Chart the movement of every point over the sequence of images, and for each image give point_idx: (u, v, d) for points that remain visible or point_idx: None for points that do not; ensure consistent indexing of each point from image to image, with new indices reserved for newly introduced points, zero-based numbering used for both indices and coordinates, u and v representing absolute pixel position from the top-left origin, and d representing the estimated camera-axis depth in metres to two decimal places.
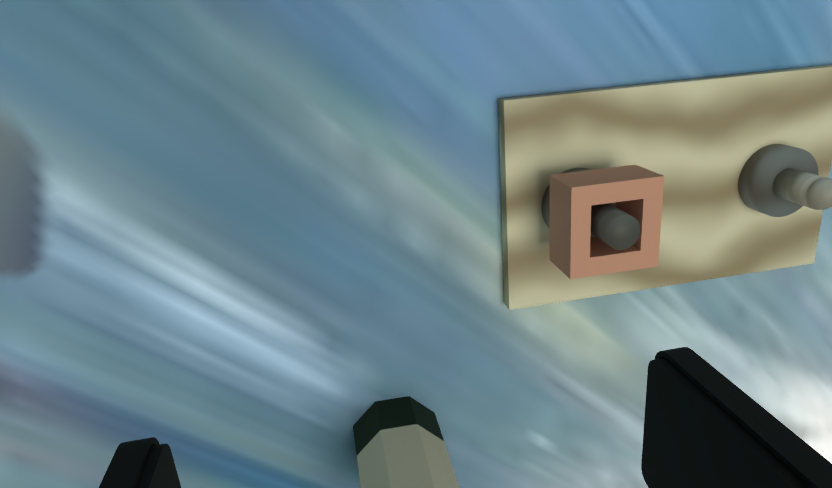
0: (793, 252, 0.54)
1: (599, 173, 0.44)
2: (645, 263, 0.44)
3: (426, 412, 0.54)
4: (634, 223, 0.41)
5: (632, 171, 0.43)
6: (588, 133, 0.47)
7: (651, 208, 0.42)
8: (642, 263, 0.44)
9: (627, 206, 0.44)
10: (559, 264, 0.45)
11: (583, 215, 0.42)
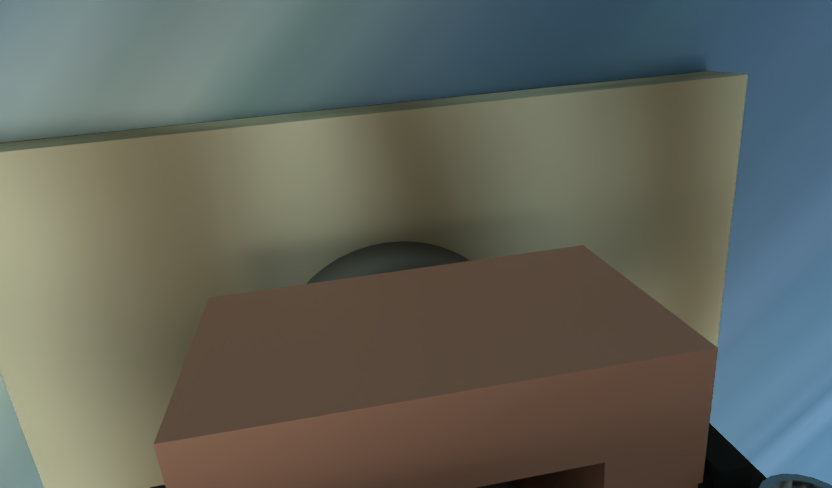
0: None
1: None
2: None
3: None
4: None
5: None
6: None
7: None
8: None
9: None
10: (218, 353, 0.08)
11: (558, 436, 0.08)
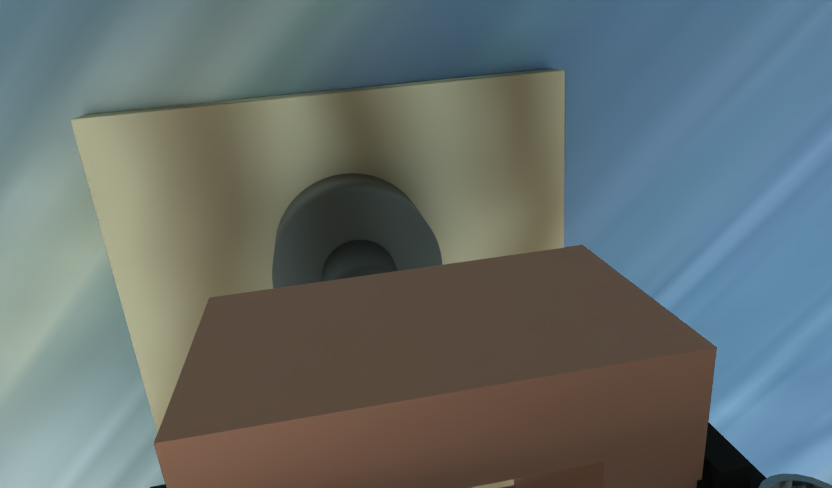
0: None
1: None
2: None
3: None
4: None
5: None
6: (490, 249, 0.25)
7: None
8: None
9: None
10: (218, 353, 0.08)
11: (557, 435, 0.08)
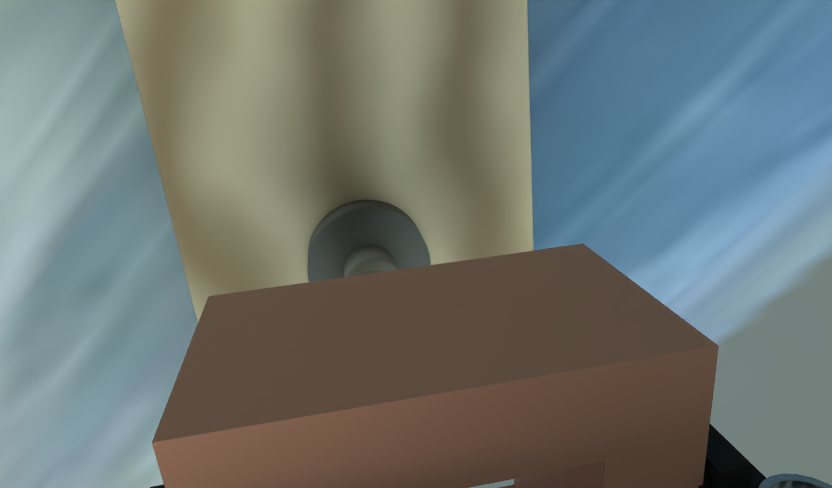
0: None
1: None
2: None
3: None
4: None
5: None
6: None
7: None
8: None
9: None
10: (217, 352, 0.08)
11: (558, 435, 0.08)
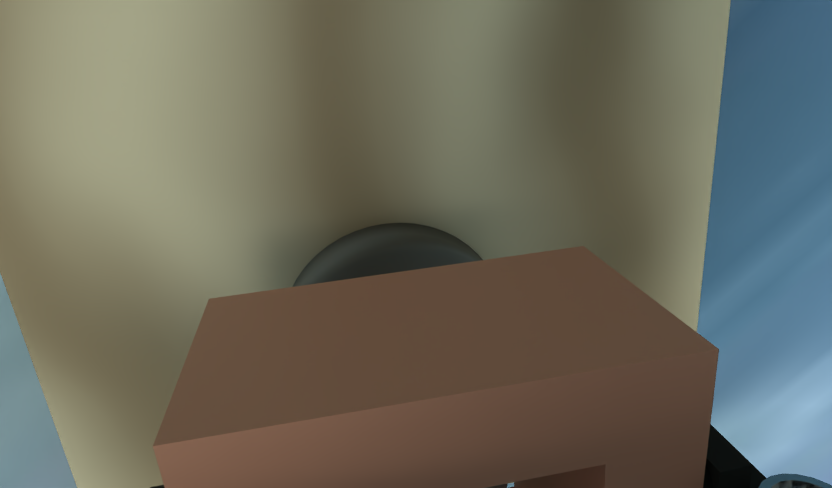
0: (134, 484, 0.16)
1: None
2: None
3: None
4: None
5: None
6: None
7: None
8: None
9: None
10: (218, 354, 0.08)
11: (558, 438, 0.08)
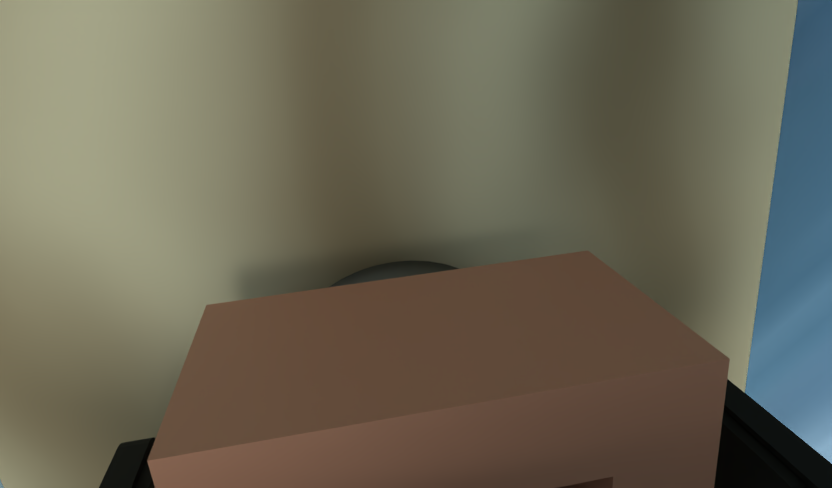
0: None
1: None
2: None
3: None
4: None
5: None
6: None
7: None
8: None
9: None
10: (215, 363, 0.08)
11: (565, 450, 0.07)
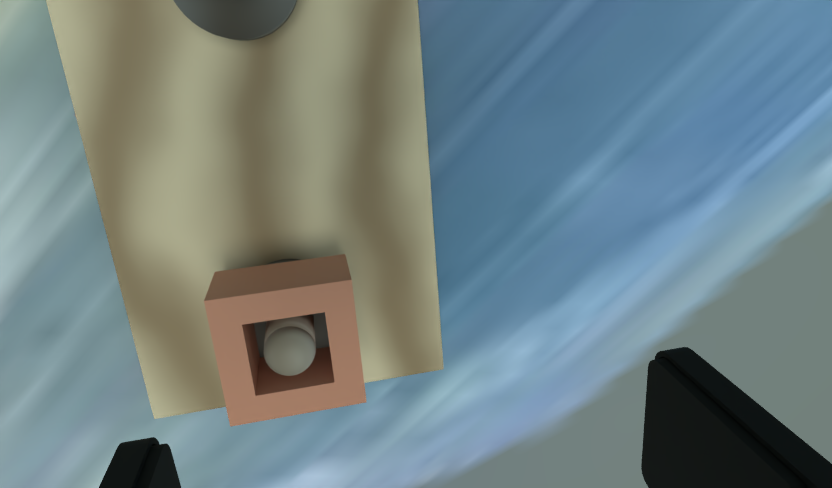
0: (170, 379, 0.35)
1: None
2: (235, 408, 0.30)
3: None
4: None
5: None
6: None
7: (320, 396, 0.30)
8: (234, 403, 0.29)
9: (310, 365, 0.32)
10: (218, 284, 0.29)
11: (309, 303, 0.29)
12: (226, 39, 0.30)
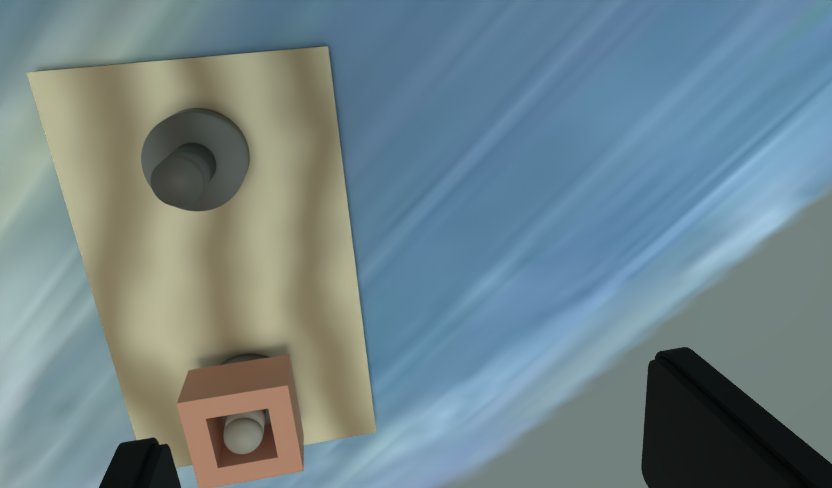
0: None
1: (296, 404, 0.42)
2: (202, 476, 0.39)
3: None
4: (191, 196, 0.31)
5: (301, 436, 0.42)
6: (292, 159, 0.39)
7: (267, 467, 0.40)
8: (201, 473, 0.39)
9: (262, 440, 0.42)
10: (189, 385, 0.39)
11: (256, 402, 0.38)
12: None
